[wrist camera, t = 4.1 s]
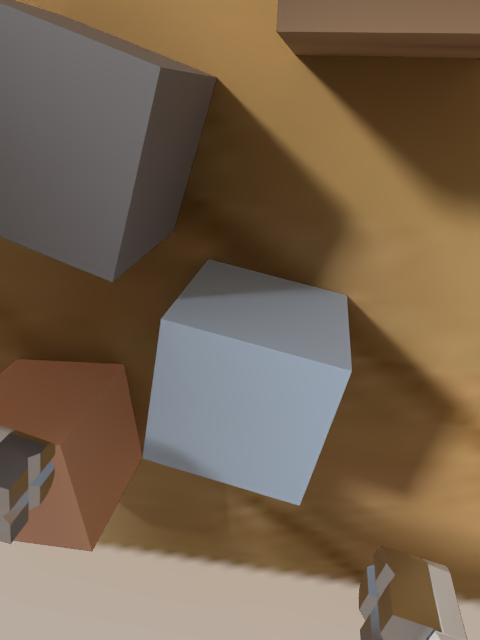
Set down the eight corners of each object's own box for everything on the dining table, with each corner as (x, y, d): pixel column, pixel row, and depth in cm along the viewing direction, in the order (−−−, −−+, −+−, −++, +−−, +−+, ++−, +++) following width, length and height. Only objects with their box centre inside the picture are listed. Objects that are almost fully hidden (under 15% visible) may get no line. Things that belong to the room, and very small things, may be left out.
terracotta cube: (18, 358, 20) (-74, 433, 15) (124, 363, 19) (60, 445, 14) (46, 446, 22) (-27, 535, 17) (143, 455, 21) (92, 551, 16)
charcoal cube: (62, 15, 13) (-71, -26, 9) (217, 77, 13) (160, 66, 9) (42, 177, 16) (-71, 208, 11) (174, 230, 16) (112, 282, 11)
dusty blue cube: (209, 258, 16) (160, 319, 11) (346, 294, 16) (351, 371, 11) (188, 371, 18) (142, 458, 14) (308, 405, 18) (299, 505, 13)
